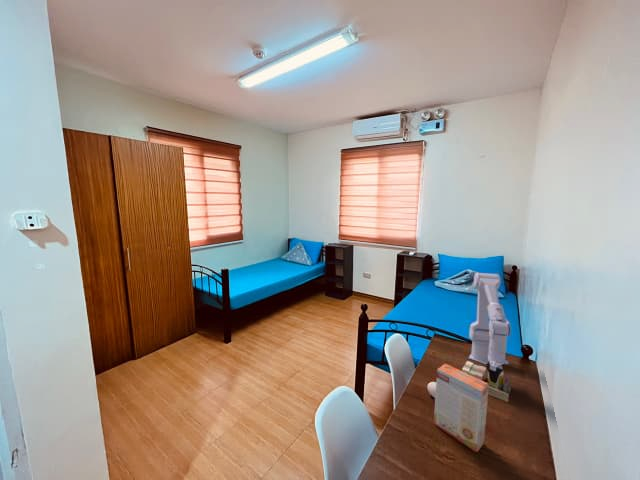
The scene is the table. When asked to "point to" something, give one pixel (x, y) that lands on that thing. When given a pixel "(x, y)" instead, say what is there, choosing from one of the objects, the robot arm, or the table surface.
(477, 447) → the cracker box
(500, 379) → the supplement bottle
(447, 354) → the table surface
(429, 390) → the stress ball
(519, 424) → the table surface
